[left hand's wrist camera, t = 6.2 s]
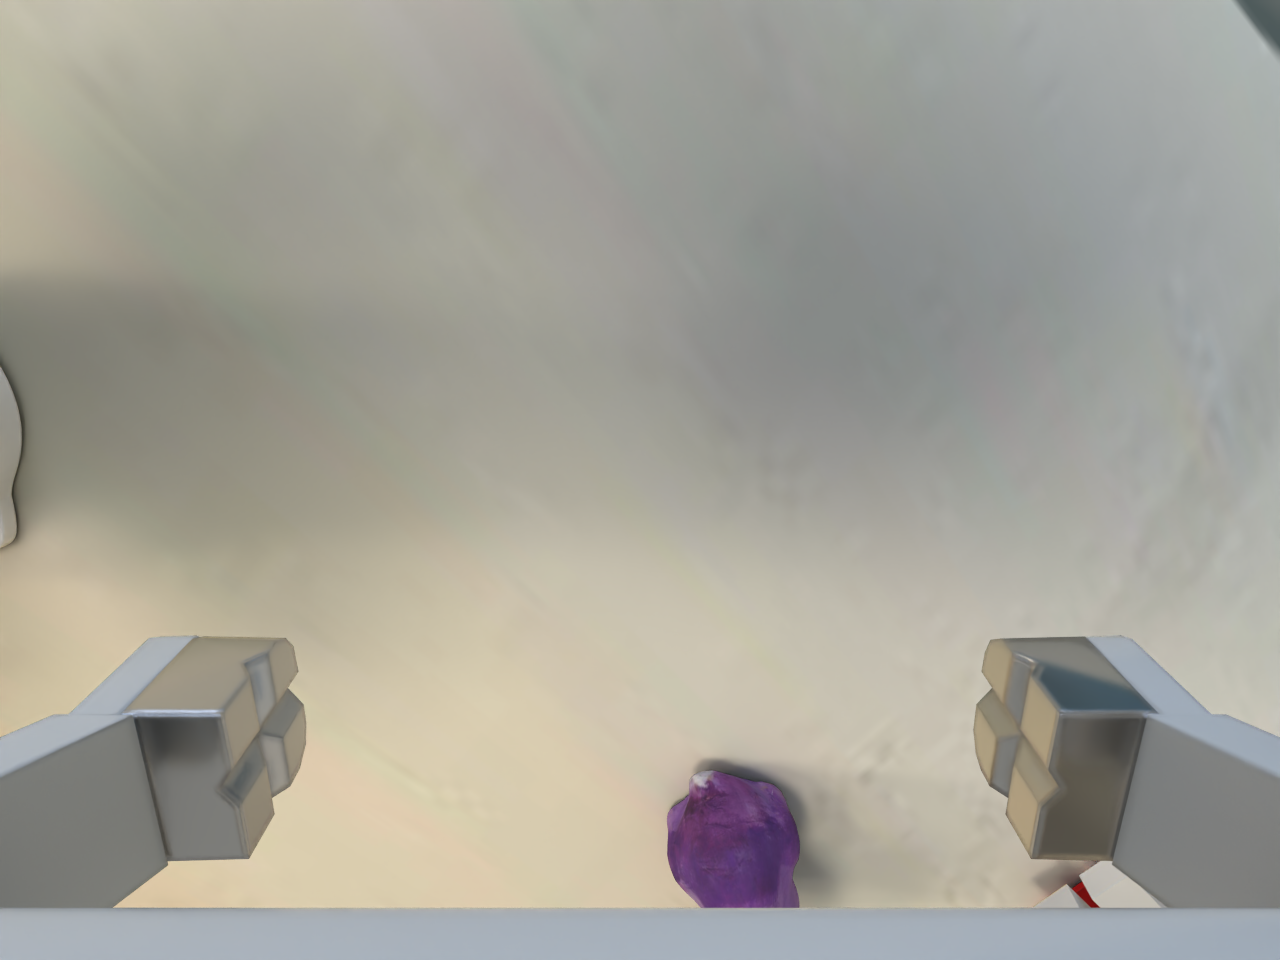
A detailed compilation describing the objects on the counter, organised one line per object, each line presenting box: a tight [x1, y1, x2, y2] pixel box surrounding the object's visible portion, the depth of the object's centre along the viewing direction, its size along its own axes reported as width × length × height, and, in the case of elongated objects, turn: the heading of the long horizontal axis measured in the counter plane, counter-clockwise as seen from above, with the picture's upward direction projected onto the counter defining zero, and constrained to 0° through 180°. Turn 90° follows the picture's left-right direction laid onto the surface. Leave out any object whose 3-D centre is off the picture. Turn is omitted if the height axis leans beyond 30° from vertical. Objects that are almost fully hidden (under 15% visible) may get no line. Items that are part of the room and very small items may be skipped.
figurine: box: [667, 770, 800, 908], centre depth 50 cm, size 9×10×15 cm
